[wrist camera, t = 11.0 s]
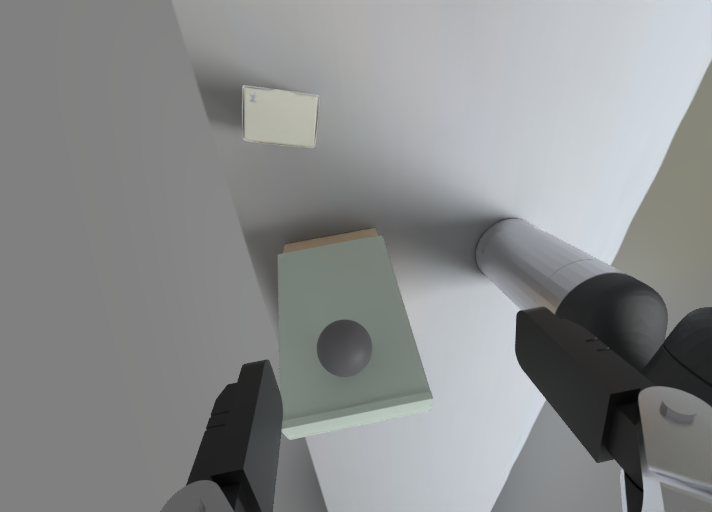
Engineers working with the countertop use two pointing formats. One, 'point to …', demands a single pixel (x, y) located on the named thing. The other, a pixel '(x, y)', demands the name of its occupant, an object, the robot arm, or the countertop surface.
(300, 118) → the skincare box
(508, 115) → the countertop surface
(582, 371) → the robot arm
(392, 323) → the lid
